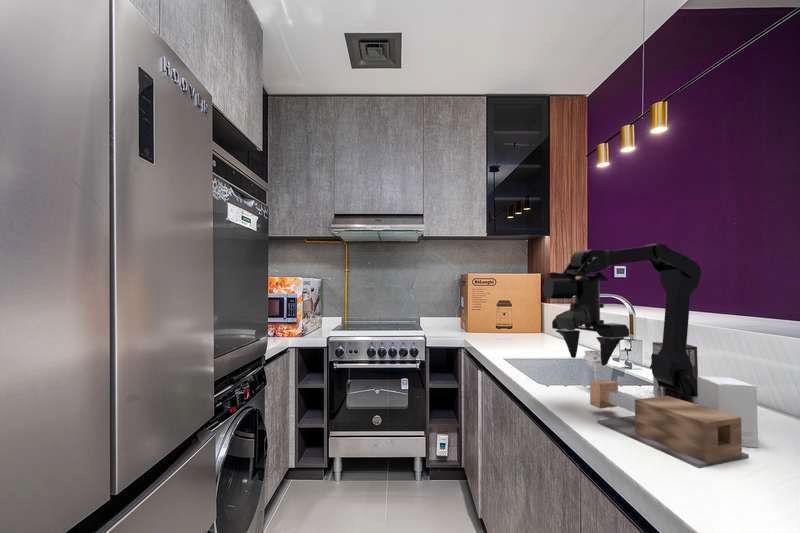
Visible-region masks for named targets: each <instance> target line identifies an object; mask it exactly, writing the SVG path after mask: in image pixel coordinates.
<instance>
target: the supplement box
mask: <svg viewBox="0 0 800 533" xmlns="http://www.w3.org/2000/svg"><path fill="white" fill-rule="evenodd" d="M697 382H698V404H697V405H700V406H704V407H707V408H710V409H714V410H717V411H720V412H724V413H727V414H730V415H734V416H737V417H741V434H742V448H743V447H746V448H757V449H758V448H759V429H758V428H759V427H758V424H759V423H758V396H757V395H758V394H757V388H758V387H757V386H756V385H753V384H751V383H748V382H745V381H742V380H740V379H739V380H738V378H737V379H736V378H733V377H725V376H724V377H723V376H722V377H721V376H705V375H704V376H703V375H698V376H697Z"/></svg>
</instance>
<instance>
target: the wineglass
mask: <svg viewBox="0 0 800 533" xmlns="http://www.w3.org/2000/svg"><path fill="white" fill-rule="evenodd" d="M583 353H584V355H583V361H584V363H585V365H587V366H588V368H591V369H592V370H593V371H594V381H597V380H598V372H599V371H600V370H603V369H605V368H606V367H607V366H608V364H609V362H608V363H607V364H606V365H602V363H601V351H600V350H599V351H598V350H584V351H583ZM586 391H587V392H588V393H590V388H589V389H587V390H586Z"/></svg>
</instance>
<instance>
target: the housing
mask: <svg viewBox="0 0 800 533" xmlns="http://www.w3.org/2000/svg"><path fill="white" fill-rule="evenodd" d="M597 424H599V425H602V426H604V427H606V428H608V429H611V430H612V431H615V432H617V433H619V434H622V435H624V436H627V437H629V438H630V439H633V440H635V441H638V442H640V443H642V444H644V445H645V446H649V447H650V448H652V449H653V448H654V449H656V450H658V451H660V452H663V453H665V454H666V455H669V456H671V457H673V458H676V459H679V460H680V461H683V462H684V463H687V464H690V465H692V466H694V467H696V468H698V469H701V468H704V467H705V468H707V467H710V466H715V465H719V464H724V463H729V462H730V463H731V462H734V461H739V460H745V459H749V456H750V455H749V453H746V452H743V446H742V434H741V417H737V416H734V415H730V414H727V413H724V412H720V411H717V410H714V409H710V408H707V407H704V406H700V405H698V404H696V403H695V404H693V403H690V402H687V401H683V400H680V399H677V398H673V397H670V396H660V397H656V396H653V397H652V396H651V397H645V398H644V397H643V398H641V399H635V412H634V415H628V416H627V415H626V416H621V417H611V418H604V419H598V420H597Z"/></svg>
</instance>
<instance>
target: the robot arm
mask: <svg viewBox="0 0 800 533" xmlns="http://www.w3.org/2000/svg"><path fill="white" fill-rule="evenodd" d="M642 261H648V263H649V264H650V266H651V268H652V269H653V270H654V272H657V273H658V274H659V275H660V284H661V286H662V288H663V289H664V292H665V295H666V296H665V307H664V308H665V309H664V321H663V332H662V342H661V343H662V349H661V350H660V351H659V353H658V354H654V353H653V352H652V354H650V358H651V359H650V360H651V364H650V366H649V369H650V370H651V373H652V377H653V376H654V377H655V378H656V380H657V383H658V386H660V387H664V388H666V390H665V396H670V397H673V398H677V399H680V400H683V401H687V402H690V403H693V404H696V403H695V397H697V396H698V382H697V379H696V378H695V377H694V376H693V366H692V363H691V361H690V359H689V357H688V355H687V353H686V346H687V344H688V342H687V341H688V332H689V320H690V318H689V317H690V305H691V296H692V294H694V291H695V290H697V288H698V286H699V285H700V281H701V276H702V267H701V265H699V263H697V261H695V260H692V259H690V258H689V257H688V256H686V255H685V254H682V253H679V252H678V251H676V250H673V249H671V248H669V246H667V245H666V244H663V243H660V242H659V243H652V244H647V245H644V246H638V247H637V246H636V247H630V248H622V249H615V250H608V249H596V248H595V249H593V248H591V249H586V250H585V249H584V250H579V251H575V252H574V253H573V254H572V255H571V257H570V262H569V263H568V265H567V266H566V268H565V269H564V270H563V271H562V272H561V273H559V272H556V271H555V272H554V271H553V272H552V271H551V272H547V273H546V277H545V279H544V283H543V285H542V292H543V295H544V297H545V299H547V300H571V299H573V298H574V302H570V304H569V309H568V310H565V311H563V312H561V313H559V314H557V315H555V318H553V320H552V321H551V324H552V326H551V328H552V329H555V333H558V334H560V336H562V338H563V339H564V342H565V344H566V347H567V350H568V353H569V355H570V357H571V358H572V359H575V358H576V357H577V353H578V348H579V341H580V340H579V339H580V333H581V330H583V331H589V332H595V333H597V334H598V336H597V337H595V338H596V340H597V341H598V342H599V346H600V347H599V349H600V350H599V351H601V363H602V365H606V364H607V363H608V364H609V360H610V358H611V357H612V355H613V353H614V351H615V349H616V348H617V346H618V345H619V344H620V342H621V341H624V340H625V338H630V329H629V327H628V325H627V324H621V323H615V322H612V323H610V322H609V323H605V319H601V309H602V308H603V309H604V308H605V307H604V305H605V304H604V303H601V300H600V298H601V296H600V295H601V293H600V292H601V290H600V287H601V286H600V282H608V281H609V278H607V276H605V275H604V274H603V273H602V271H603V270H606V269H608V268H610V267H613V266H615V265H623V264H628V263H634V262H636V263H637V262H642ZM600 271H601V272H600ZM591 273H593V274H591ZM577 277H580V278H579V279H578V278H577ZM608 364H607V365H608Z"/></svg>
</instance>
